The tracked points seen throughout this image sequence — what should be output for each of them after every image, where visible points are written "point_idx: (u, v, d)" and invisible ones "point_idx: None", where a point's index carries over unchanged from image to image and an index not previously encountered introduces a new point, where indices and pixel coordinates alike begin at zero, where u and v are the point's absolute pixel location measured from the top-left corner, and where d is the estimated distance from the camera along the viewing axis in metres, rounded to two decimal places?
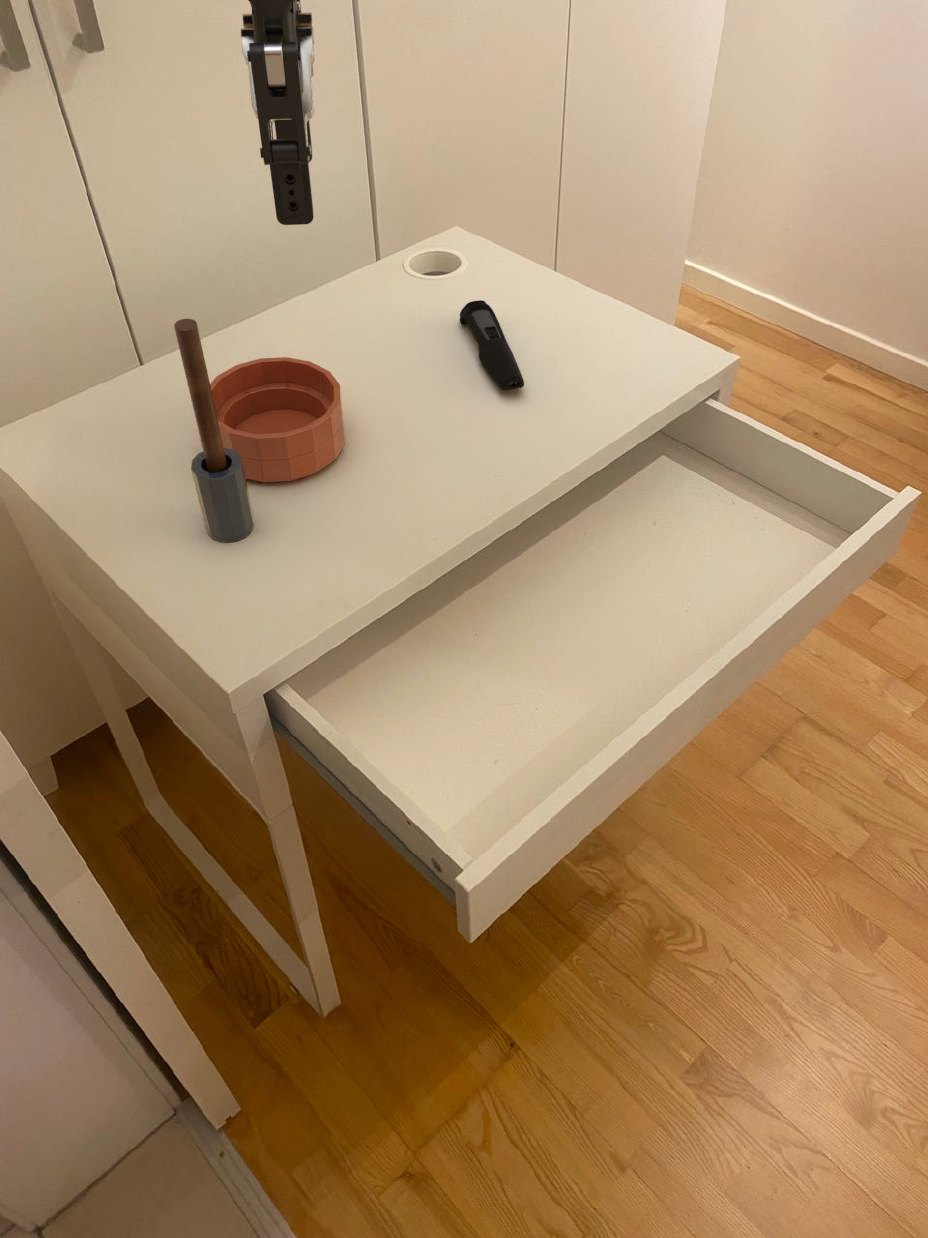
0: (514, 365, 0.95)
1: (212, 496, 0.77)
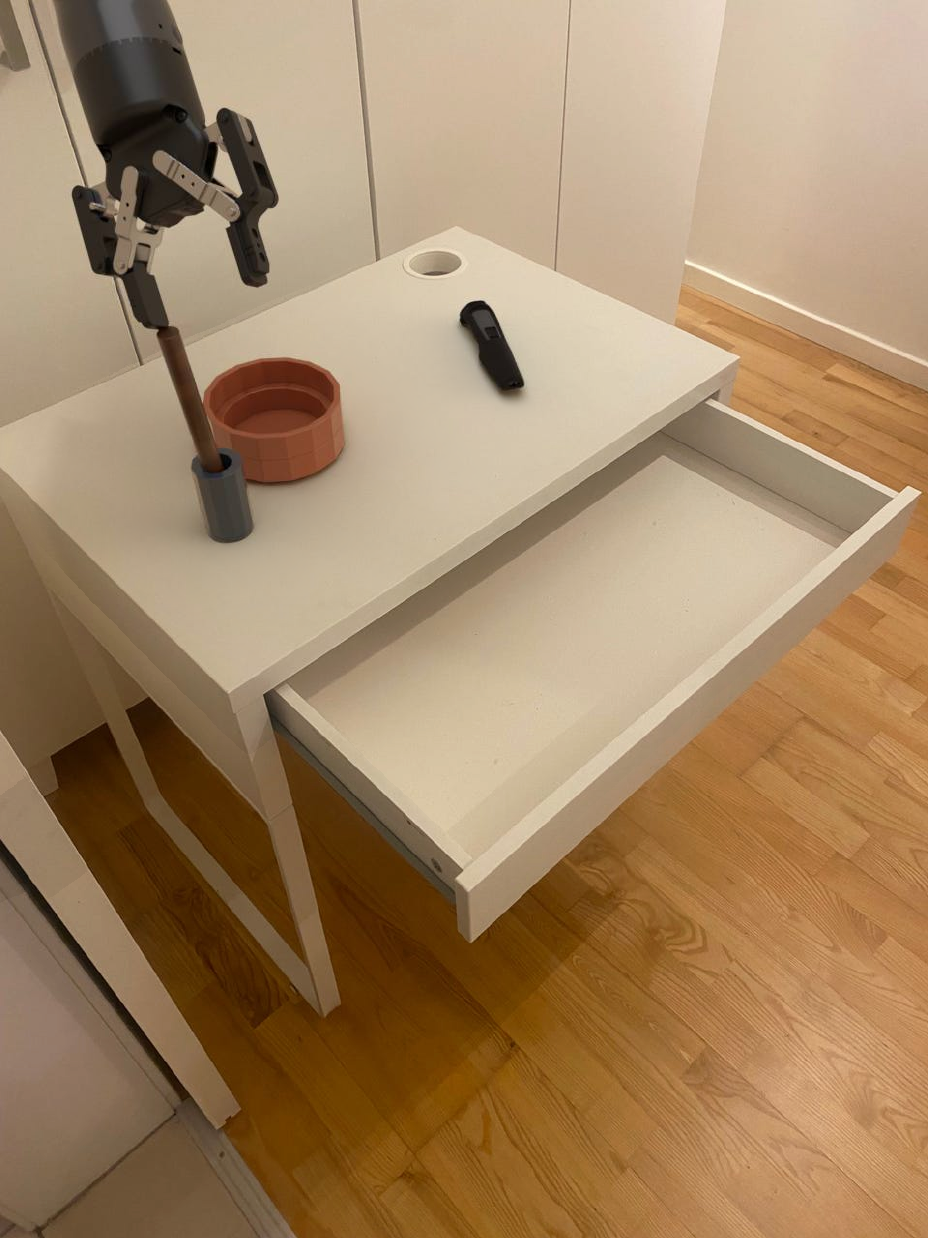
0: (514, 365, 0.95)
1: (212, 496, 0.77)
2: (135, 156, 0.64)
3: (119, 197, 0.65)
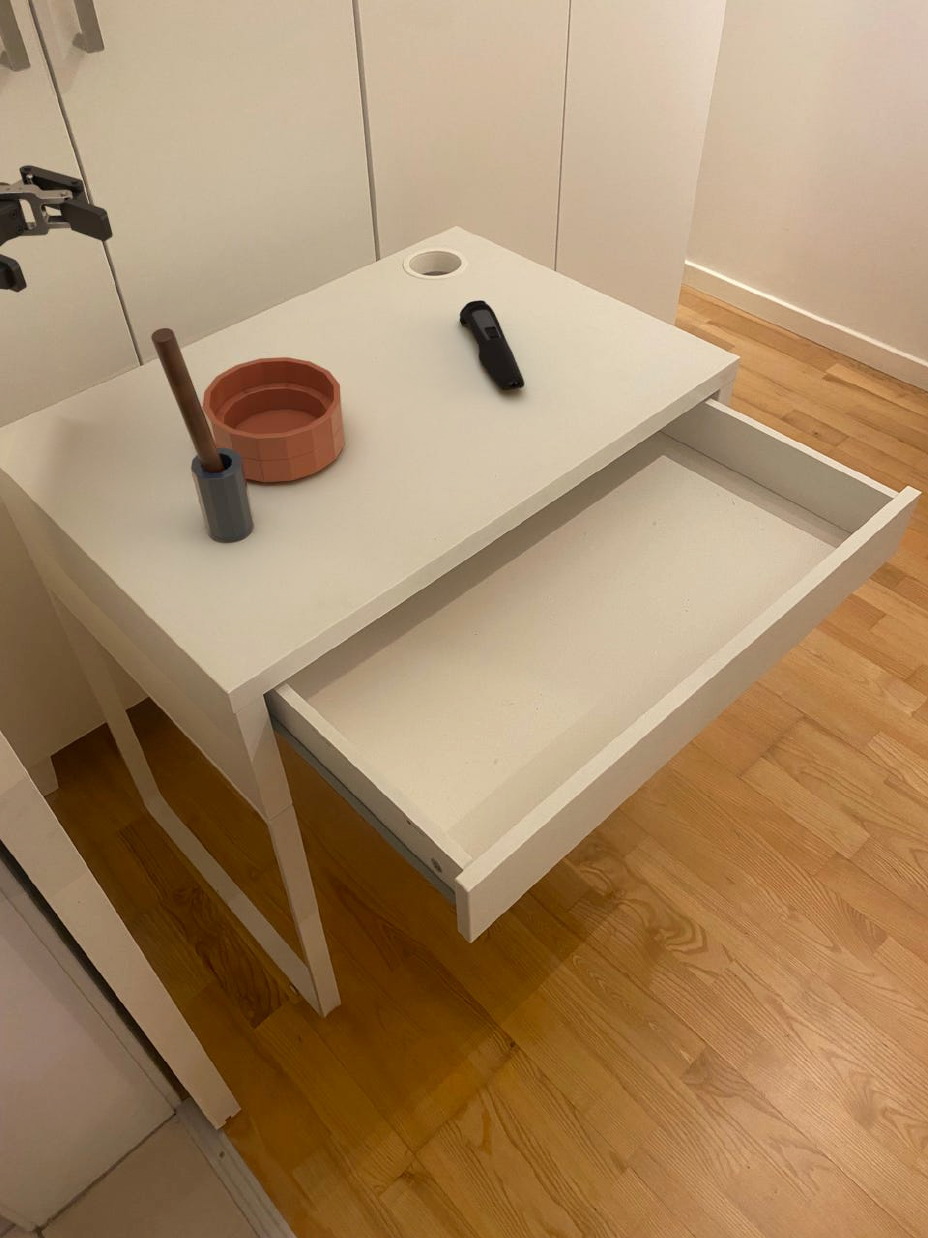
0: (514, 365, 0.95)
1: (212, 496, 0.77)
2: None
3: None
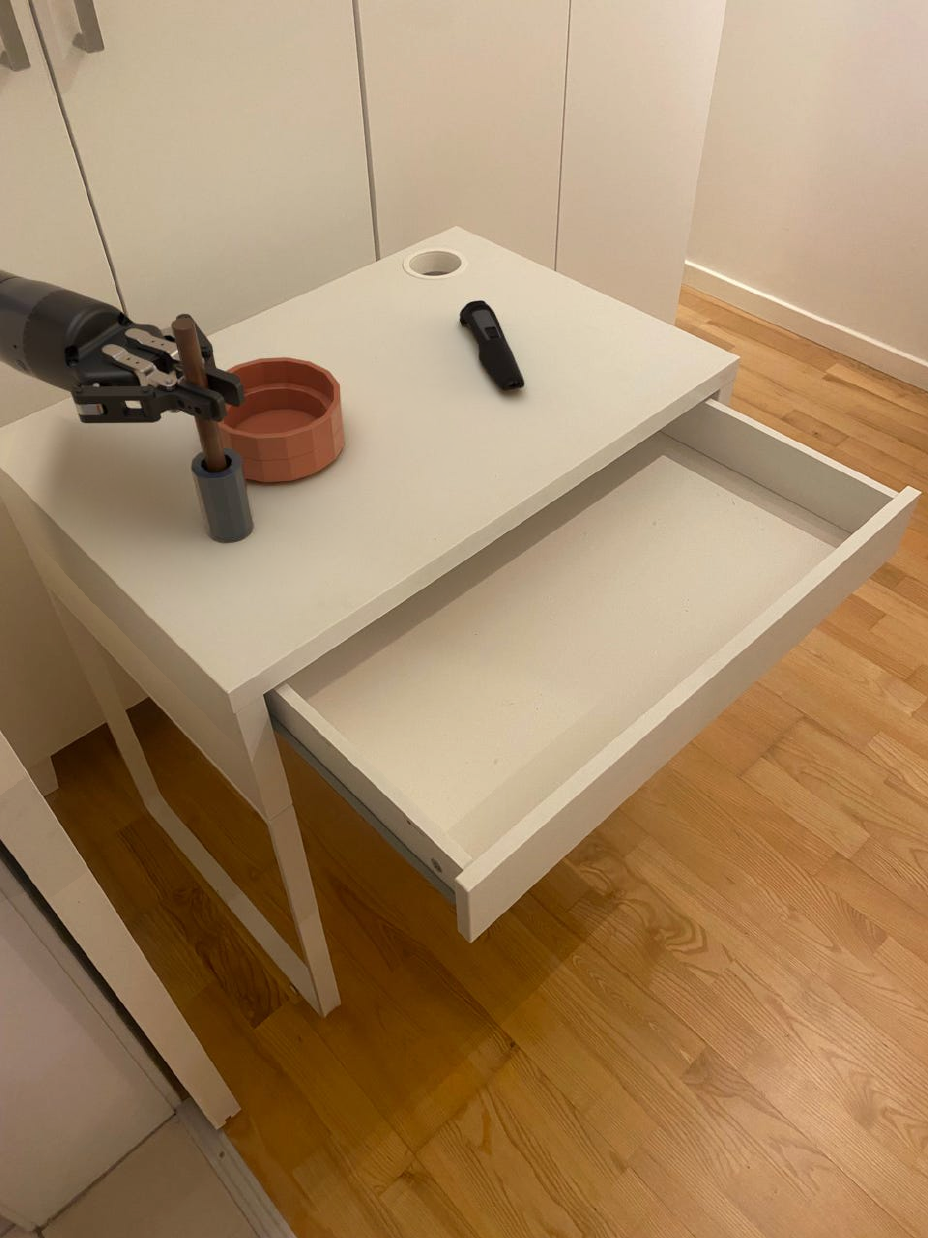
0: (514, 365, 0.95)
1: (212, 496, 0.77)
2: (102, 351, 0.73)
3: (99, 373, 0.71)
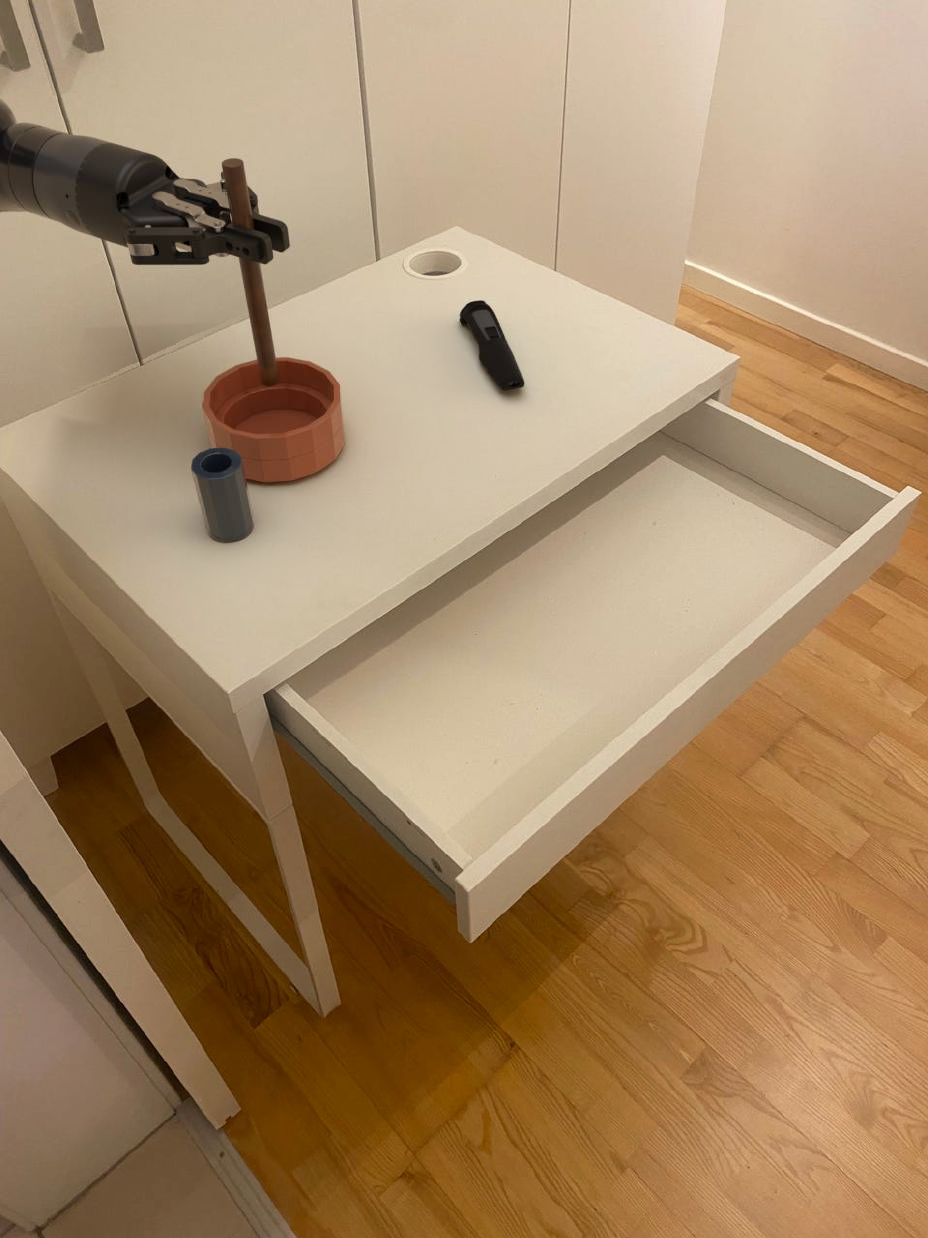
0: (514, 365, 0.95)
1: (212, 496, 0.77)
2: (151, 200, 0.76)
3: (150, 217, 0.74)
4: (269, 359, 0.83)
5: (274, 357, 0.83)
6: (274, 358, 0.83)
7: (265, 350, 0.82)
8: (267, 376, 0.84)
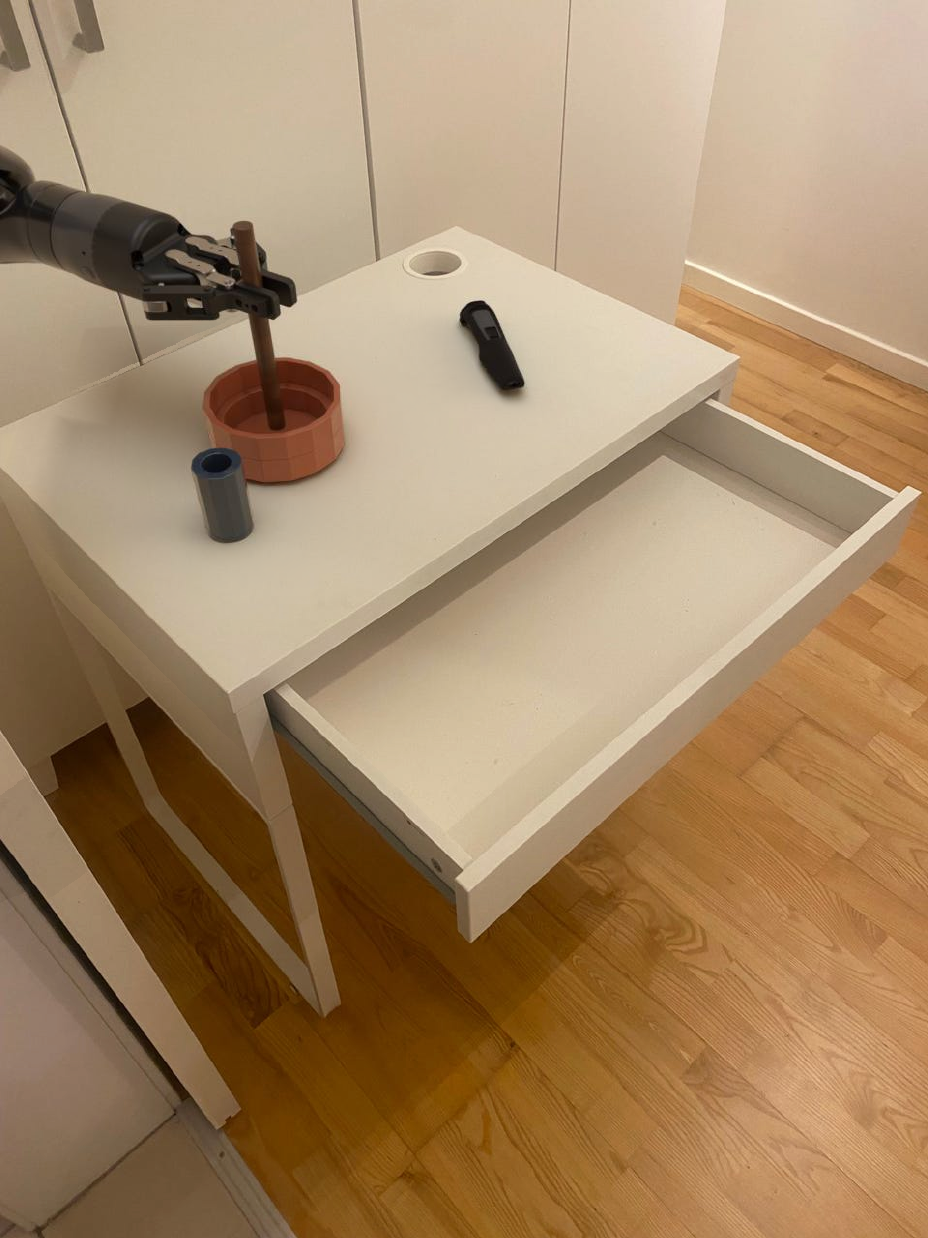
0: (514, 365, 0.95)
1: (212, 496, 0.77)
2: (164, 257, 0.80)
3: (163, 275, 0.78)
4: (276, 405, 0.86)
5: (281, 403, 0.86)
6: (281, 404, 0.86)
7: (272, 397, 0.85)
8: (274, 421, 0.87)
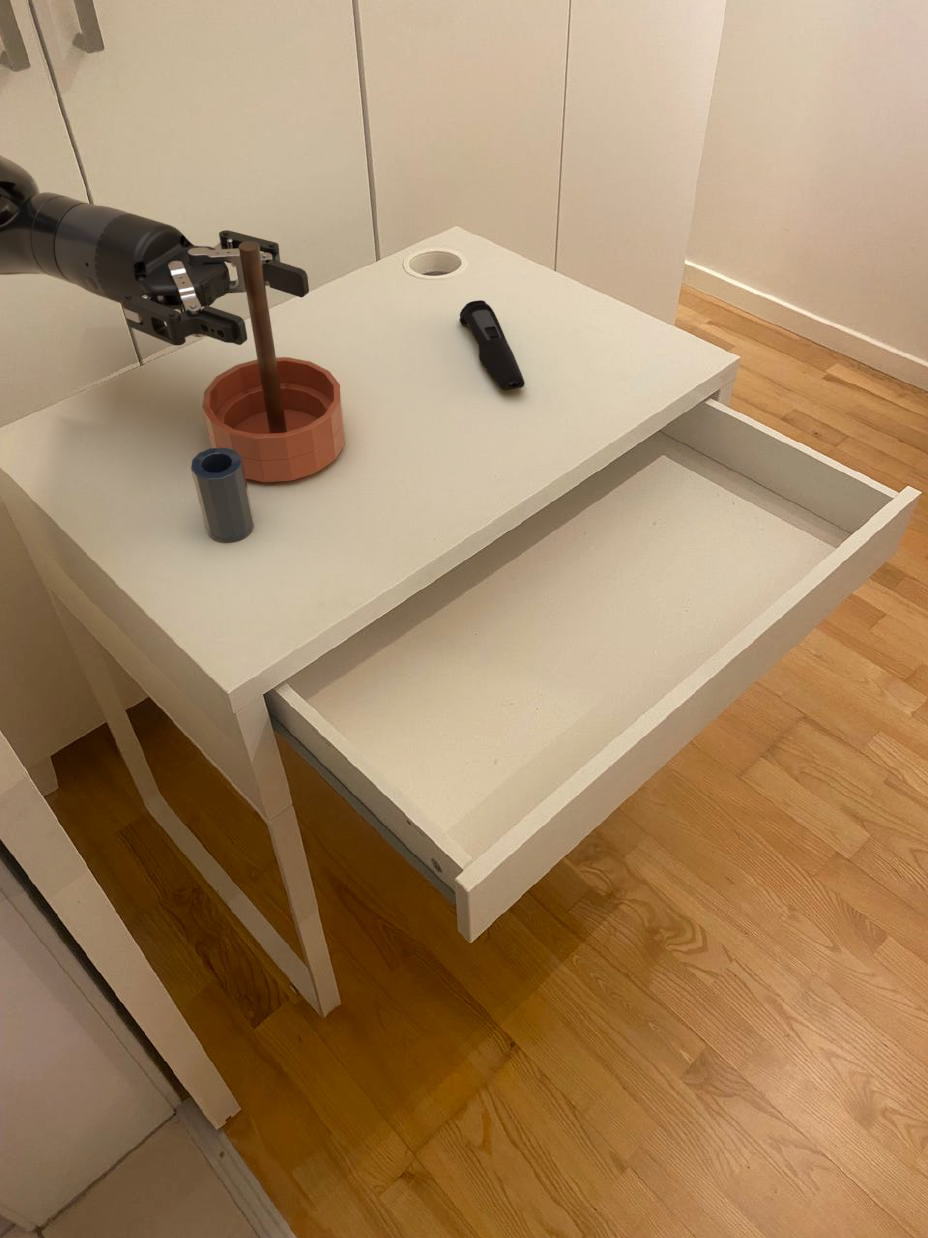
0: (514, 365, 0.95)
1: (212, 496, 0.77)
2: (166, 268, 0.80)
3: (166, 286, 0.78)
4: (279, 420, 0.87)
5: (283, 418, 0.88)
6: (283, 419, 0.88)
7: (275, 412, 0.87)
8: None
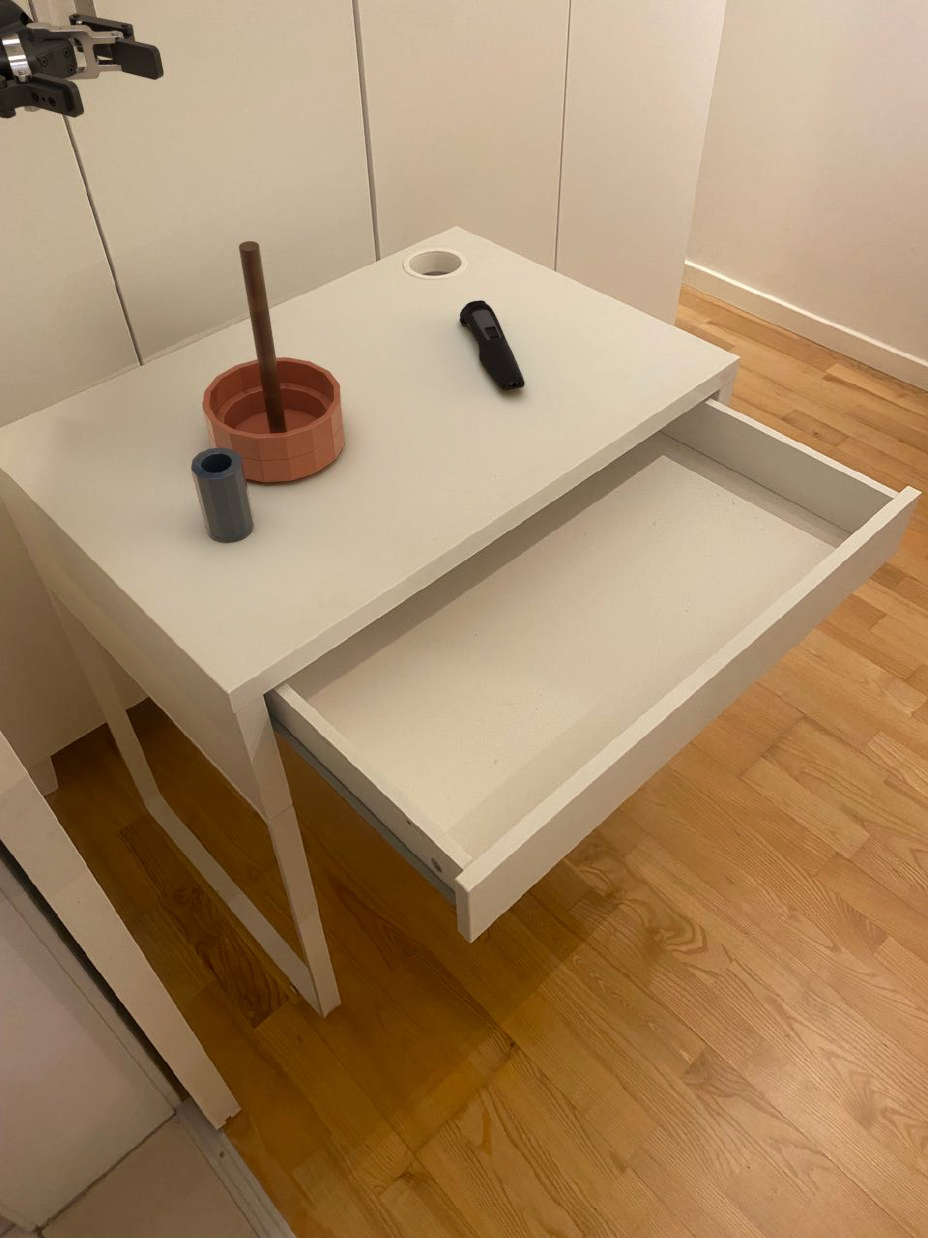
0: (514, 365, 0.95)
1: (212, 496, 0.77)
2: (2, 43, 0.72)
3: None
4: (279, 420, 0.87)
5: (283, 418, 0.88)
6: (283, 419, 0.88)
7: (275, 412, 0.87)
8: None
